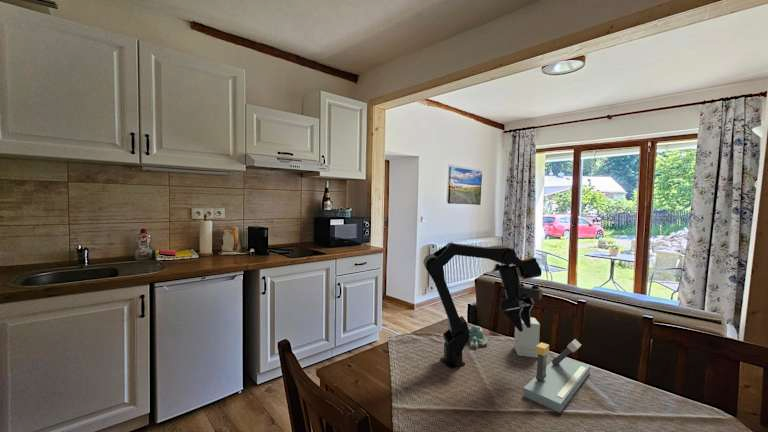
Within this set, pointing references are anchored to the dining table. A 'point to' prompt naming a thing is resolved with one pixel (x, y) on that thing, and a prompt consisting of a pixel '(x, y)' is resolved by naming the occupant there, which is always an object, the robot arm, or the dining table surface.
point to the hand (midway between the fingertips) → (525, 329)
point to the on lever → (566, 352)
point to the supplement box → (527, 339)
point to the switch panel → (557, 384)
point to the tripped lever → (541, 360)
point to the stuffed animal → (477, 337)
